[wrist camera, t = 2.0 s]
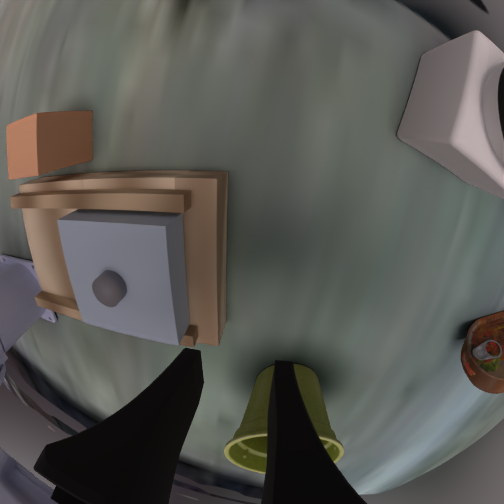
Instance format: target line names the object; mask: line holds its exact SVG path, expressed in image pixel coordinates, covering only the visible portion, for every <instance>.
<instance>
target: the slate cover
mask: <svg viewBox="0 0 504 504" xmlns="http://www.w3.org/2000/svg"><path fill="white" fill-rule="evenodd" d="M57 222H58V228H59V234H60V239H61V244H62V249H63V253H64V258H65V262H66V266H67V270H68V274H69V278H70V281H71V285H72V288H73V292H74V295H75V299H76V302H77V305H78V308H79V311H80V314H81V317H82V320H83V322H84V323H87V324H91V325H94V326H97V327H101V328H105V329H108V330H112V331H116V332H119V333H123V334H127V335H131V336H135V337H140V338H144V339H148V340H153V341H157V342H162V343H167V344H172V345H177V346H179V345H180V343H181V340H182V338H183V336H184V334H185V332H186V330H187V328H188V326H189V324H190V317H189V306H188V295H187V283H186V269H185V253H184V233H183V213H174V212H155V211H133V210H106V209H77V210H75V211H73V212H71V213H69V214H67V215H65V216H63V217H61V218H59V219H58V220H57Z"/></svg>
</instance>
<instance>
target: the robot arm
mask: <svg viewBox="0 0 504 504" xmlns="http://www.w3.org/2000/svg"><path fill="white" fill-rule="evenodd" d="M0 262H1V263H0V385H1V384H2V382H3V380H4V377H5V371H6V366H5V364H4V362H5V361H6V360H7V359H8V357H7V356H6V354H5V353H6V352H7V351H8V350H9V349H10V347H11V346H12V345H13V344H14V343H15V342H16V341H17V340H18V339H19V338H20V337H21V336H22V335H23V334H24V333H25V332H26V331H27V330H28V329H29V328H30V327H31V326H32V325H33V324H34V323H35V322H36V321H37V320H38V319H39V318H40V317H41V318H43V319H46V320H48V321H51V322H53V323H56V322H57V318H56V315H55V313H54V311H51V310H48V309H46V308H43V307H40V306H38V305H37V302H36V300H35V296H36V295H37V294H38V293H40V292H41V291H42V289H41V286H40V283H39V280H38V277H37V273H36V270H35V266H34V263H33V261H28V260H24V259H19V258H15V257H11V256H6V255H2V254H1V255H0ZM203 384H204V378H203V370H202V361H201V351H200V350H195V349H189V348H185V349H183V350H182V352H181V353H180V354H179V355H178V356H177V357H176V358H175V360H174V361H173V362H172V363H171V364H170V365H169V366H168V367H167V368H166V369H165V370H164V371H163V372H162V373H161V374H160V375H159V376H158V377H157V378H156V379H155V380H154V381H153V382H152V383H151V384H150V385H149V386H148V387H147V388H146V389H145V390H144V391H142V392H141V393H140V394H139V395H138V396H137V397H136V398H134V399H133V400H132V401H131V402H129V403H128V404H127V405H126V406H124V407H123V408H121V409H120V410H119V411H117V412H116V413H114V414H113V415H111V416H110V417H108V418H106V419H105V420H103V421H101V422H100V423H98V424H96V425H94V426H92V427H90V428H88V429H86V430H84V431H82V432H80V433H78V434H76V435H73V436H71V437H68V438H66V439H63V440H60V441H57V442H54V443H51V444H47V445H46V446H45V448H44V449H43V451H42V453H41V454H40V456H39V458H38V460H37V462H36V464H35V465H34V470H35V471H36V472H38V473H39V474H40V475H42V476H43V477H44V478H46V479H47V480H49V481H50V482H52V483H53V484H55V485H56V487H55V489H52V488H51V487H49V486H48V485H46V484H45V483H44V482H42V481H41V480H39V479H38V478H37V477H35V476H34V475H33V474H32V473H31V472H30V471H28V470H27V469H26V468H25V467H23V466H22V465H21V464H20V463H18V462H17V461H16V460H15V459H14V458H12V457H11V456H10V455H8V454H7V453H6V452H5V451H4V450H3V449H2V448H1V447H0V504H168V503H169V498H170V493H171V488H172V484H173V479H174V475H175V471H176V467H177V463H178V459H179V455H180V452H181V449H182V446H183V443H184V441H185V438H186V436H187V433H188V430H189V428H190V425H191V423H192V420H193V418H194V415H195V412H196V410H197V407H198V404H199V401H200V397H201V393H202V389H203ZM261 504H367V503H366V502H365V501H364V500H363V499H362V498H361V497H360V496H359V495H358V493H357V492H356V491H355V490H354V489H353V488H352V486H351V485H350V484H349V483H348V481H347V480H346V479H345V477H344V476H343V475H342V473H341V472H340V470H339V469H338V468H337V466H336V465H335V463H334V462H333V460H332V459H331V457H330V455H329V454H328V452H327V451H326V449H325V447H324V445H323V443H322V442H321V440H320V438H319V436H318V434H317V432H316V430H315V428H314V426H313V423H312V421H311V419H310V417H309V414H308V412H307V409H306V406H305V404H304V401H303V398H302V396H301V393H300V389H299V386H298V383H297V379H296V375H295V370H294V364H293V363H292V362H289V361H277V360H275V365H274V371H273V377H272V383H271V389H270V397H269V406H268V418H267V464H266V474H265V481H264V488H263V495H262V502H261Z"/></svg>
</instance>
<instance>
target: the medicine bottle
mask: <svg viewBox="0 0 504 504" xmlns="http://www.w3.org/2000/svg"><path fill="white" fill-rule="evenodd" d="M397 137H398V138H399V139H400V140H401V141H403V142H405V143H407V144H408V145H410V146H412V147H413V148H415V149H417V150H418V151H420V152H422V153H423V154H425V155H426V156H428V157H430V158H431V159H433V160H434V161H436V162H437V163H439V164H440V165H442V166H443V167H445V168H446V169H448V170H449V171H450V172H452V173H453V174H455V175H456V176H457V177H459V178H460V179H461V180H463V181H464V182H465V183H467V184H470V185H472V186H475V187H477V188H480V189H482V190H484V191H487V192H489V193H491V194H494V195H496V196H498V197H500V198H502V199H504V53H503V52H502V51H501V50H500V49H499V48H498V47H497V46H495V45H494V44H493V43H492V42H491V41H490V40H489V39H488V38H486V36H484V35H483V34H482V33H481V32H479V31H472V32H470V33H467V34H465V35H463V36H460V37H458V38H456V39H454V40H451V41H449V42H447V43H445V44H442V45H440V46H438V47H436V48H434V49H432V50H430V51H428V52H426V53H424V54H423V55H422V56H421V60H420V63H419V67H418V71H417V74H416V77H415V81H414V84H413V87H412V91H411V94H410V97H409V100H408V103H407V106H406V109H405V112H404V115H403V118H402V121H401V123H400V126H399V129H398V132H397Z"/></svg>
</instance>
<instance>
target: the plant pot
mask: <svg viewBox="0 0 504 504" xmlns="http://www.w3.org/2000/svg"><path fill="white" fill-rule="evenodd" d="M294 370H295V375H296V379H297V383H298V386H299V389H300V393H301V396H302V398H303V401H304V404H305V406H306V409H307V412H308V414H309V417H310V419H311V421H312V423H313V426H314V428H315V430H316V432H317V434H318V436H319V438H320V440H321V442H322V443H323V445H324V447H325V449H326V451H327V452H328V454H329V455H330V457H331V459H332V460H333V462H334V463H336V462H337V461H338V460H339V459H340V458H341V457H342V455H343V453H344V449H343V445H342V444H341V442H340V441H338V440H337V439H336V435H335V433H334V431H333V430H332V429H331V426H330V422H329V419H328V415H327V411H326V407H325V403H324V399H323V395H322V391H321V387H320V384H319V380H318V377H317V375H316V374H315V372H314V371H312V370H311V369H310V368H308V367H305V366H303V365H299V364H294ZM273 371H274V365H273V366H270V367H268V368H266V369H265V370H263V371H262V372H261V373H260V374H259V375H258V377H257V379H256V382H255V385H254V388H253V391H252V394H251V397H250V400H249V403H248V406H247V409H246V411H245V414H244V417H243V420H242V422H241V425H240V428H239V429H238V430H237V431H236V433H235V435H234V437H233V439H231V440H230V441H229V442H228V443H227V444H226V446H225V449H224V453H225V456H226V457H227V459H228V460H230V461H231V462H232V463H234V464H235V465H237V466H239V467H242V468H244V469H247V470H250V471H254V472H258V473H265V474H266V464H267V418H268V406H269V397H270V389H271V383H272V377H273Z"/></svg>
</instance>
